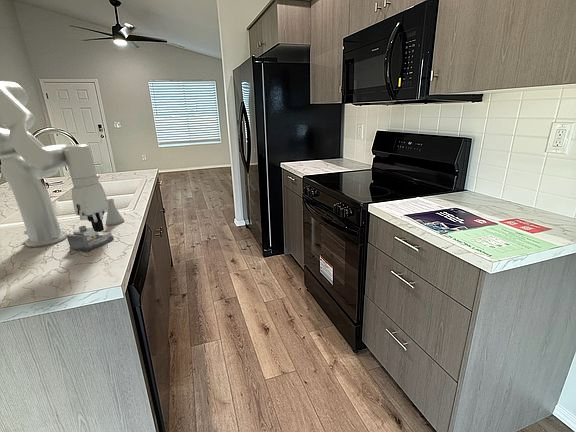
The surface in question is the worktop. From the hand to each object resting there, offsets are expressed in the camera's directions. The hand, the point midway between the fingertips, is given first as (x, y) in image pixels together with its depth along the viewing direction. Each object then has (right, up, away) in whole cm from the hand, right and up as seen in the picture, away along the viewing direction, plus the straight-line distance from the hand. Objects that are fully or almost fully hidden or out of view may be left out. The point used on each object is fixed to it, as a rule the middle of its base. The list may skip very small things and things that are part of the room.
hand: (99, 230), depth 112 cm
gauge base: (-1, -5, -2) cm, 5 cm away
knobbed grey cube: (-1, -4, -5) cm, 6 cm away
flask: (-5, +3, +19) cm, 20 cm away
